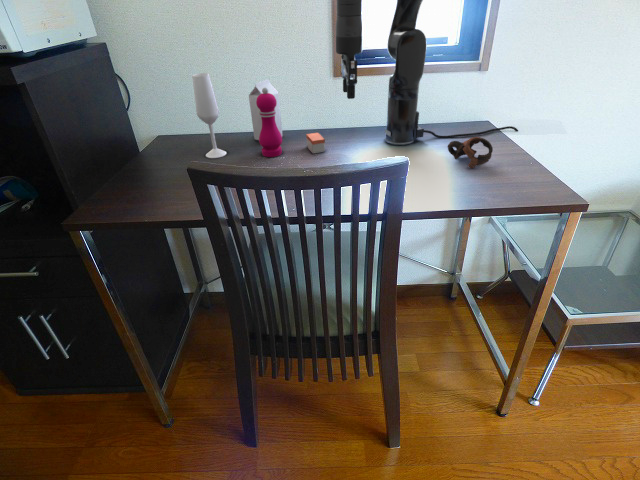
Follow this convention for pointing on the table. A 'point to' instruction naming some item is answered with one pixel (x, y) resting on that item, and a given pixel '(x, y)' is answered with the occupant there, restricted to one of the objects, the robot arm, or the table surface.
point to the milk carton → (255, 110)
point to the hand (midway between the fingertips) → (348, 95)
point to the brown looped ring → (470, 150)
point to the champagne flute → (207, 107)
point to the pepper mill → (269, 125)
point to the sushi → (315, 142)
